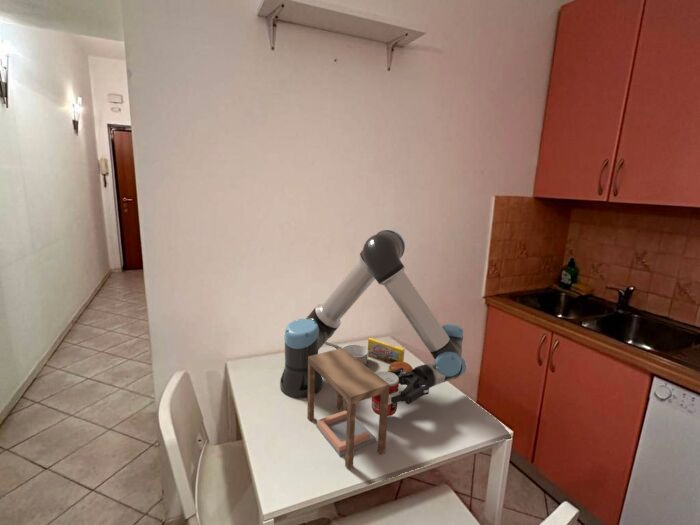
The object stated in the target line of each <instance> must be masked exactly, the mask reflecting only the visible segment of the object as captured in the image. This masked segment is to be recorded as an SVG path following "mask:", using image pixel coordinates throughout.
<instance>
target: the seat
mask: <svg viewBox="0 0 700 525" xmlns="http://www.w3.org/2000/svg"><path fill="white" fill-rule="evenodd" d="M315 427H316V428H317V430H318V431H319V432H320V434H321V435H322V436H323V438H325V440H326V441H327V442H328V443H329V446H331V448H332V449H333V450H334V451H335V452H336V454H337V455H338V456H339V457H343V456H344V455H345V456H346V429H347V409H346V410H342V411H340V412H336V413H334V414H332V415H329V416H326V417H323V418H320V419H318V420H317V421H316V424H315ZM376 441H377V437H376V436H375V435H374V434H373V433H372V432H370V430H368V428H366V426H365V425H364V424H363V423H362V422H361V421H360V420H359V419H358V418H357V417H356V416H355V434H354V451H356V450H358V449H361V448H364V447H366V446H367V445H369V444H370V445H371V444H372V443H376Z"/></svg>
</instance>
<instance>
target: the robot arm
mask: <svg viewBox="0 0 700 525" xmlns="http://www.w3.org/2000/svg"><path fill="white" fill-rule="evenodd" d="M405 248H406V245H405V241H404V238H403V236H402V235H401V234H400V233H398V231H395V230H392V229H383V230H380V231H379V232H377V233H376V234H373V235H371V236H369V238H367V240H366V241H365V243H364V244H363V247H362V250H361V251H360V253H359V261H357V263H355V265H354V266H353V268H352V269H351V270H350V271H349V273H348V274H347V275H346V276H345V277H344V278H343V280H342V281H341V282H340V283H339V284H338V285H337V287H336V288H335V289H334V290H333V291H332V293H331V294H330V295H329V297H328V298H327V299H326V300H325V301H324V303H322V304H317V305H316V306H315V307H314V308H313V309H312V310H311V312H310V313H309V314H308V315H307V316H306V318H299V319H297V320H295V319H294V320H292V321H291V322H290V323H288V324H287V325H286V327H285V330H284V367H283V368H284V369H283V372H282V374H281V378H280V382H279V384H280V385H279V386H280V387H279V388H280V391H281V392H282V393H283V394H284V395H287V396H289V397H293V398H308V356H312V355H316V354H319V350H320V349H321V348H322V347H323V345H325V344H324V343H325V342H328V340H329V339H331V337H332V336H333V335H334V334H335V332H336V331H337V329H339V328H340V326H341V324H342V322H341V319H342V318H343V317H344V316H345V314H346V313H347V312H348V311H349V310H350V309H351V308H352V307H353V306H354V304H355V303H356V302H357V301H358V300H359V298H361V296H362V295H363V294H364V293H365V291H367V289H368V288H369V287H370V286H371V285H372V283H373V282H375V280H376V282H377V283H378V285H381V286H383V287H384V288H385V289H386V290H387V292H388V294H389V295H390V296H391V298H392V300H393V301H394V302H395V304H396V305H397V307H398V308H399V309H400V311H401V312H402V314H403V315H404V316H405V318H406V320H407V321H408V323H409V324H410V325H411V327H412V328H413V330H414V331H415V333H417V336H418V337H419V339H420V340H421V341H422V343H423V344H424V346H425V347H426V349H427V350H428V351H429V353H430V354H431V356H432V357H433V359H434V360H433V361H430V362H427V363H424V364H422V365H421V364H420V365H418V366H416V367H414V368H413V371H411V372H405V371H403V368H399V369H397V370H393V371H388V370H387V371H386V372H391V373H394V374H395V375H397V376H398V378H399V386H406V387H405V388H404V389H403V390H400V391H398V392H395V393H392V394H389V399H388V405H389V404H391V403H397V404H398V403H399V402H405V404H406V405H409V404H411V403H413V402H415V401H417V400H418V399H420V398H421V397H424V396H426V395H429V394H430V388H433V387H435V386H438V385H440V384H443V383H446V382H448V381H451V380H454V379H458V378H459V377H461V376H463V375H464V374H465V373H466V370H467V365H466V361H465V359H464V357H463V356H462V355H463V353H462V352H463V340H464V328H463V327H461V326H460V325H457V324H454V323H446V324H443V325H441V324H440V322H439V321H438V319H437V318H436V316H435V314H434V313H433V311H432V310H431V308H430V307H429V306H428V305H427V303H426V301H425V300H424V298H423V297H422V296H421V294H420V293H419V292H418V290H417V288H416V287H415V285H414V284H413V283H412V282H411V280H410V279H409V278H410V277H408V275H407V274H406V273H405V265H404V264H403V262H402V261H401V258H402V257H403V256H404V253H405ZM323 380H324V378H323V377H322V376H321V375H320V374H319V373H318V372H317V371H316V370H315V379H314V395H316V394H318V393H319V392H321V390H322V389H323Z"/></svg>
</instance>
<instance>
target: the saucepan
mask: <svg viewBox="0 0 700 525" xmlns="http://www.w3.org/2000/svg"><path fill="white" fill-rule="evenodd" d="M323 345H327V346H328V347H333V348H335V350H336V349H340V348H343V349H344V350H346V351H347V352H348V353H350V354H351V355H352V356H353V357H355V358H356V359H357V360H359V361H360V362H361V363H363V364H364V365H365V366H366V365H367V363H368V358H369V357H368V352H369V350H368V347H366V346H364V345H361V344H356V343H355V344H354V343H353V344H346V345H343V346H340V345H338V344H335V343H331V342H328V341H326V342H325V343H324V344H323Z"/></svg>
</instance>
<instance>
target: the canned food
mask: <svg viewBox="0 0 700 525" xmlns="http://www.w3.org/2000/svg"><path fill="white" fill-rule="evenodd" d="M374 373H375V372H374ZM375 374H377V375H378V376H379V377H381V378H382V379H383V380H385V381H386V382H387V383H388V384H389V394H392V393H395V392H399V386H400V384H399V378H398V376H397V375H395V374H394V373H391V372H387V371H386V370H385V371H384V370H382V371H378V372H376V373H375ZM380 399H381V394H379V395H377V396H374V397H371V409H372V411H373V412H374V413H375V414H376V415H379V416H380ZM397 410H398V402H397V403H391V404H389V405H388V415H387V417H391V416H393V415H394V414H396V412H397Z"/></svg>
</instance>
